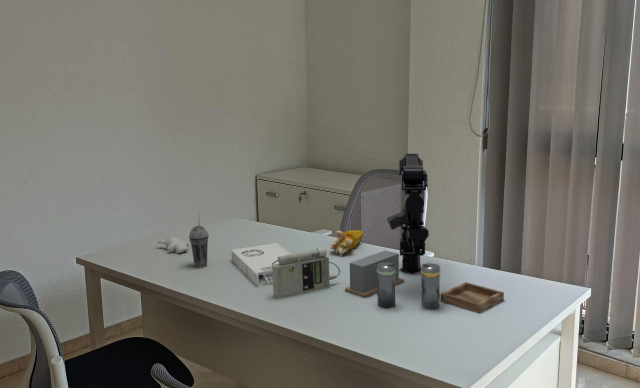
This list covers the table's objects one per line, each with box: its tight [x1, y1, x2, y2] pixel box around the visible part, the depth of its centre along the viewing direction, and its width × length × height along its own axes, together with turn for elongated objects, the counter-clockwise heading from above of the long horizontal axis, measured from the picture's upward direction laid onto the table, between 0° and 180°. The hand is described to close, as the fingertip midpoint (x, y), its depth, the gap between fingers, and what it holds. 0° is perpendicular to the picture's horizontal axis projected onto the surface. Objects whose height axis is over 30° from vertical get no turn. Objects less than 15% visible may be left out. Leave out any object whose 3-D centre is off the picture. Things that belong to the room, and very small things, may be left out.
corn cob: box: [329, 229, 364, 257], centre depth 263 cm, size 8×8×25 cm
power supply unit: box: [230, 242, 292, 288], centre depth 241 cm, size 19×33×5 cm, turn 23°
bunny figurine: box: [157, 235, 190, 255], centre depth 269 cm, size 10×5×15 cm
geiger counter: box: [272, 246, 341, 299], centre depth 218 cm, size 14×6×25 cm
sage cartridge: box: [377, 262, 396, 309], centre depth 203 cm, size 6×6×13 cm
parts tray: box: [439, 281, 505, 314], centre depth 205 cm, size 14×14×3 cm
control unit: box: [344, 250, 405, 299], centre depth 219 cm, size 20×9×10 cm, turn 134°
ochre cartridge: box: [420, 262, 441, 311], centre depth 200 cm, size 6×6×13 cm
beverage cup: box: [188, 214, 209, 269], centre depth 245 cm, size 7×7×20 cm
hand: (413, 251), depth 214 cm, fingers open, 9 cm apart
